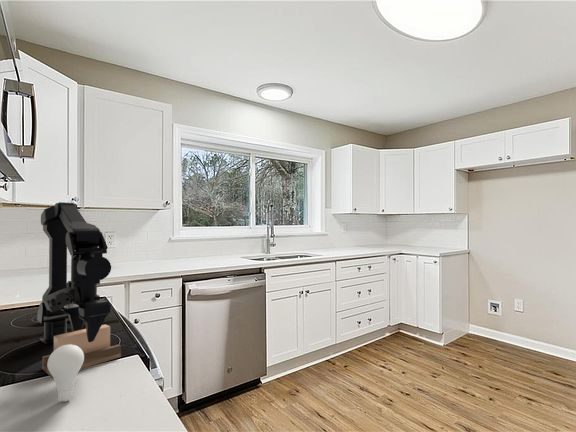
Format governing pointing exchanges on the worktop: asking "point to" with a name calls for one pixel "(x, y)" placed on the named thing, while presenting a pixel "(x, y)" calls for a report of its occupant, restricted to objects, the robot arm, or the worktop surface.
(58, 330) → the robot arm
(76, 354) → the lightbulb
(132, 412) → the worktop surface
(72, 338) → the tan rectangular block
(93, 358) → the track
